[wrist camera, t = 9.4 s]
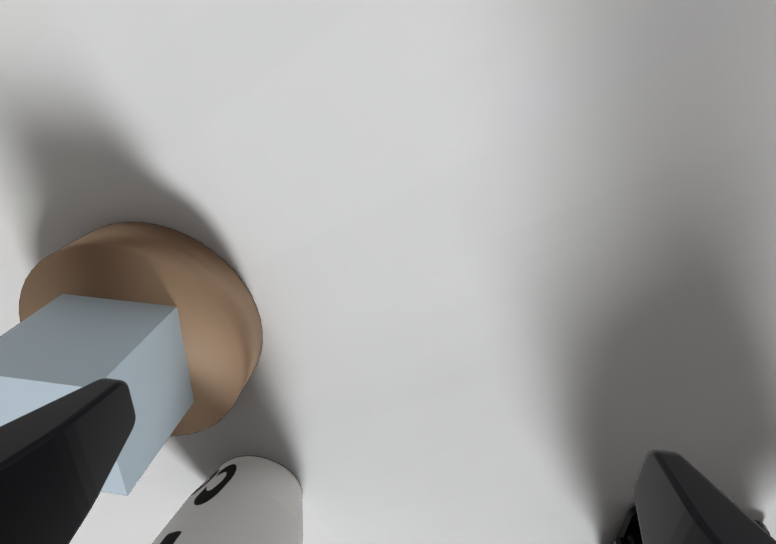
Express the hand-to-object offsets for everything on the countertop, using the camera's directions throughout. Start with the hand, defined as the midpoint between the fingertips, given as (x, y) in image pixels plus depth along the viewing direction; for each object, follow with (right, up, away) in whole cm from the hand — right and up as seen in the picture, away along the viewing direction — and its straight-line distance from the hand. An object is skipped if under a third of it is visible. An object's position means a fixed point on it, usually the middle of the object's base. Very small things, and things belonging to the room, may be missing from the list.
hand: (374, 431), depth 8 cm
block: (-11, -1, +13) cm, 17 cm away
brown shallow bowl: (-11, 0, +15) cm, 18 cm away
